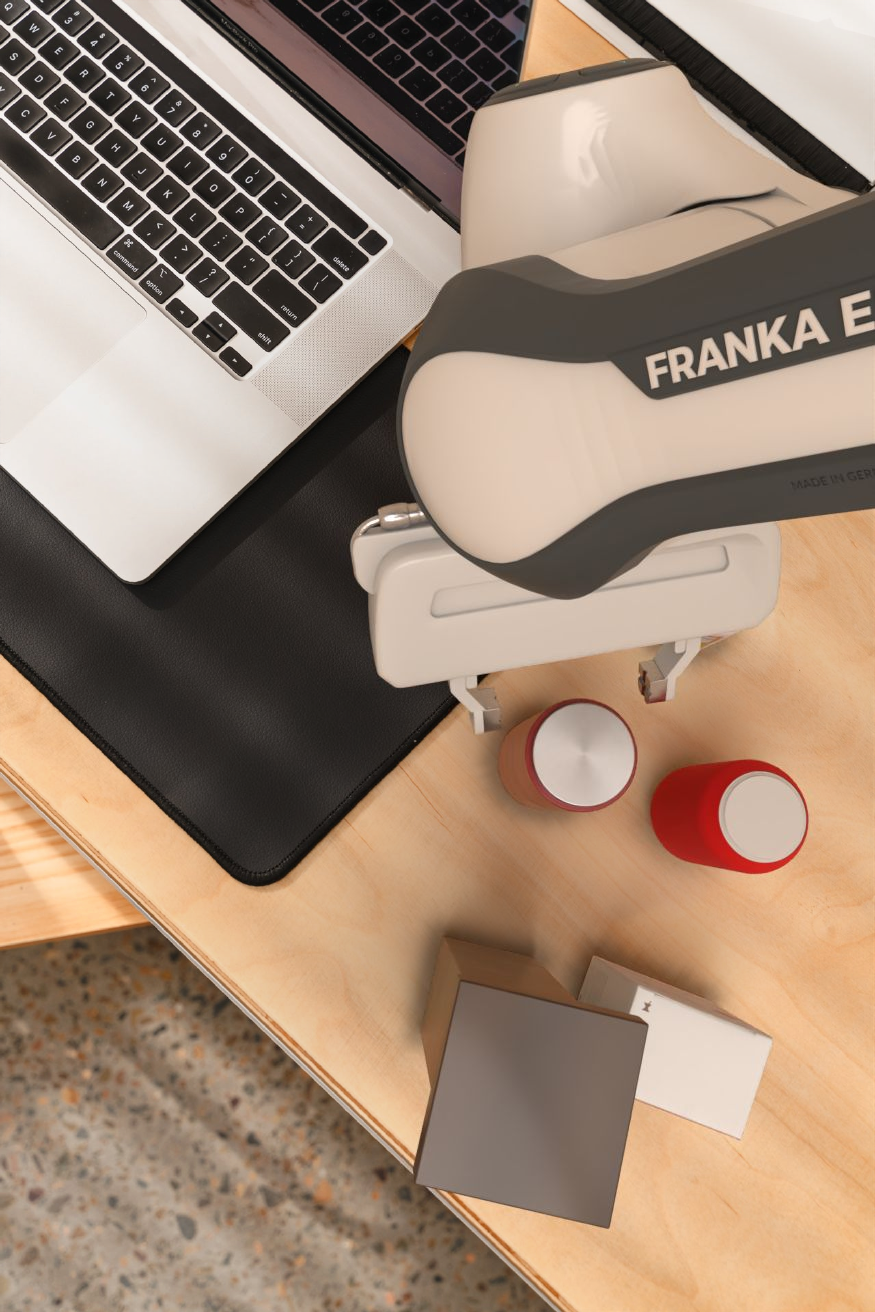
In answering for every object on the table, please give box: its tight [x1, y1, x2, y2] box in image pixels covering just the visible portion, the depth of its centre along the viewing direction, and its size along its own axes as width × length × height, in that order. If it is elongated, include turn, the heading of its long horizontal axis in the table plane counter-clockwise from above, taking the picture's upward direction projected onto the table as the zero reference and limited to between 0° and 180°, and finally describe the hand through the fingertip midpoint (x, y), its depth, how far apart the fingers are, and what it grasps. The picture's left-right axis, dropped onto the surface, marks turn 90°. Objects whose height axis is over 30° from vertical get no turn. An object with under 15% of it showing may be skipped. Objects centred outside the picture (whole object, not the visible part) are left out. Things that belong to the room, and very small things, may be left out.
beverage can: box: [649, 758, 810, 875], centre depth 57 cm, size 6×6×12 cm
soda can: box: [497, 697, 638, 813], centre depth 57 cm, size 6×6×13 cm
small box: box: [576, 955, 774, 1141], centre depth 56 cm, size 8×6×10 cm
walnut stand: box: [412, 935, 649, 1230], centre depth 50 cm, size 8×8×22 cm
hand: (571, 710), depth 52 cm, fingers open, 8 cm apart
